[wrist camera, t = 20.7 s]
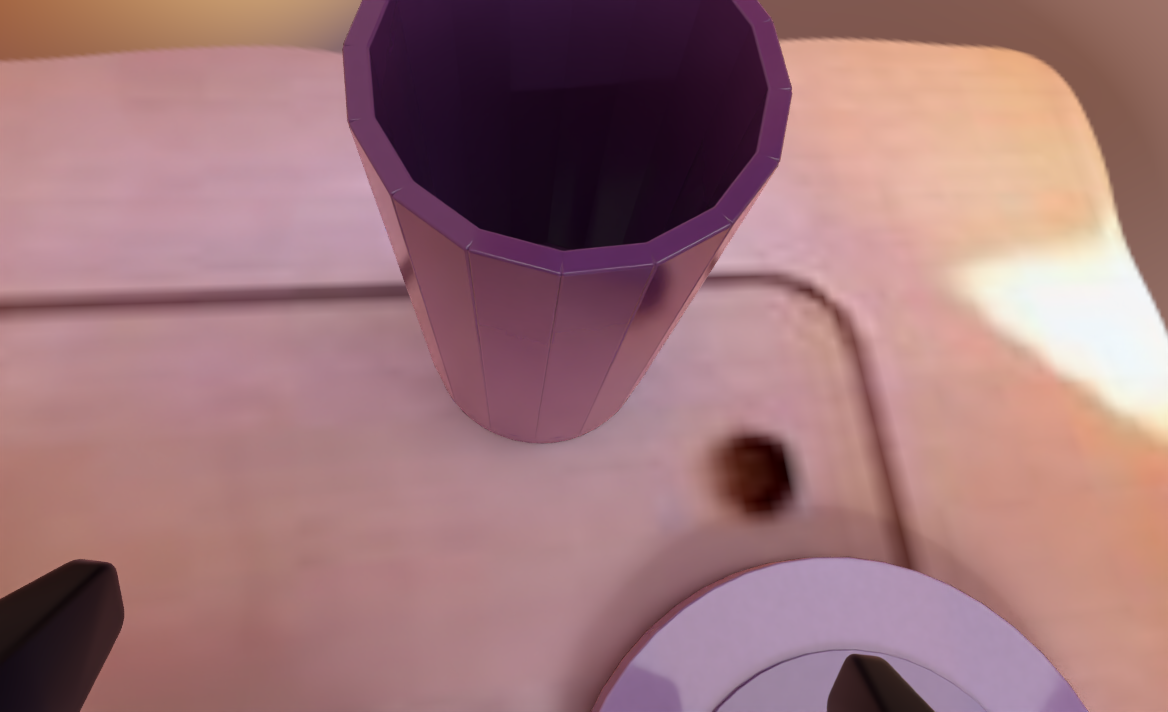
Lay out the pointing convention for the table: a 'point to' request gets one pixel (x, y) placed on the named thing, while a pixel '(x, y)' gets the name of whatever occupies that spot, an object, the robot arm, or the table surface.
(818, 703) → the plate
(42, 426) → the table surface
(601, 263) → the tumbler
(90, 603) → the robot arm
